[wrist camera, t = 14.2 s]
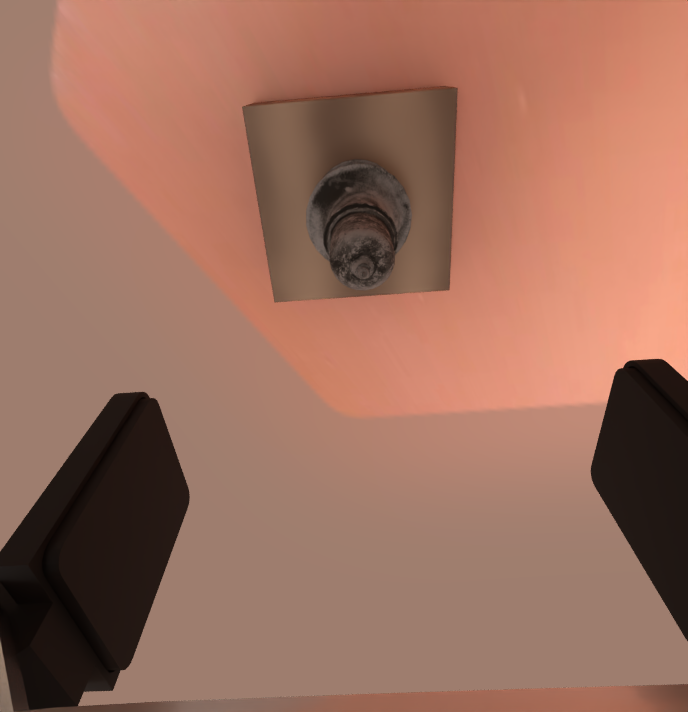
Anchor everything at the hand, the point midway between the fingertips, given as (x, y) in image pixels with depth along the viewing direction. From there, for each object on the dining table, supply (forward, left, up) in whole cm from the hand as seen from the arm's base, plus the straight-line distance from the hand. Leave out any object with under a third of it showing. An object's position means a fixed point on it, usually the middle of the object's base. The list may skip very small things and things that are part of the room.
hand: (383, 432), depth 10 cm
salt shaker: (0, 0, -22) cm, 22 cm away
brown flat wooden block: (0, +1, -26) cm, 26 cm away
